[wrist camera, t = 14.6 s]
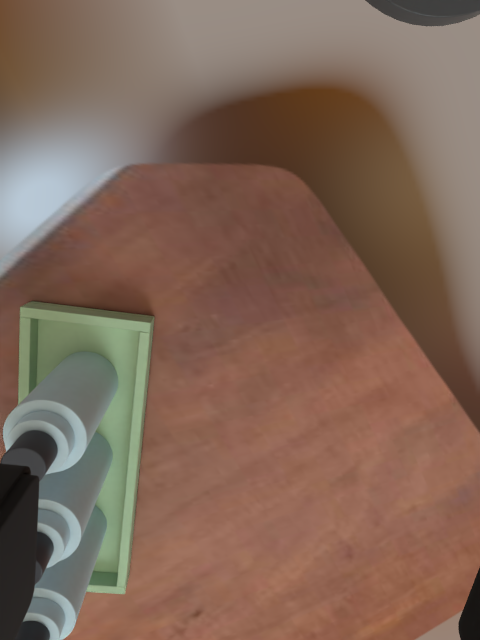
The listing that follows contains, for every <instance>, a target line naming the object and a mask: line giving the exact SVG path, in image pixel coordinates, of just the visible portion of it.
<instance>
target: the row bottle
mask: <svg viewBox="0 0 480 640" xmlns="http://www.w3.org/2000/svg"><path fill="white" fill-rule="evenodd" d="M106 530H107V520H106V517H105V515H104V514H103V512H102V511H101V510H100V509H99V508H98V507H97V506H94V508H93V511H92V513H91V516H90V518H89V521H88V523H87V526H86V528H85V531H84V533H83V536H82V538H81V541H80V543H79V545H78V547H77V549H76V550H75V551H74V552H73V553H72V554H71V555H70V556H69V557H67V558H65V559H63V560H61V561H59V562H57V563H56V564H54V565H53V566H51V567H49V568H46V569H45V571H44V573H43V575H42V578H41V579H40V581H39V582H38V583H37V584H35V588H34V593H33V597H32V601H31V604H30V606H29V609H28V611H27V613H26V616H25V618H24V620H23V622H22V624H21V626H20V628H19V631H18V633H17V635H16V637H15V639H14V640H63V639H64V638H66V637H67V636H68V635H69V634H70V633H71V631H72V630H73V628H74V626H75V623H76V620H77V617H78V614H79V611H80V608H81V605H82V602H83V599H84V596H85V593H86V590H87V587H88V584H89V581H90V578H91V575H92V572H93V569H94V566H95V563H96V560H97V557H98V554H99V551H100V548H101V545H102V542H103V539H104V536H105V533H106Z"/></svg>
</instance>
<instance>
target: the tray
mask: <svg viewBox="0 0 480 640" xmlns="http://www.w3.org/2000/svg"><path fill="white" fill-rule="evenodd" d="M153 328H154V316H148V315H140V314H132V313H124V312H116V311H108V310H100V309H92V308H84V307H75V306H67V305H59V304H51V303H43V302H35V301H31V302H29V303H27V304H25V305H23V306H21V307H20V334H19V388H18V405H19V404H20V403H21V402H22V401H23V400H24V399H25V398H26V397H27V396H28V395H29V394H30V393H31V392H32V391H33V390H34V389H35V388H36V387H37V386H38V385H39V384H40V383H41V382H42V381H43V380H44V379H45V378H46V377H47V376H48V375H49V374H50V373H51V372H52V371H53V370H54V369H55V368H56V367H57V366H58V365H59V364H60V363H61V362H62V361H63V360H64V359H65V358H66V357H67V356H69V355H71V354H73V353H76V352H83V351H86V352H93V353H97V354H99V355H101V356H103V357H105V358H106V359H107V360H108V361H109V362H110V363H111V364H112V365H113V366H114V368H115V370H116V372H117V376H118V388H117V391H116V393H115V395H114V397H113V399H112V401H111V403H110V405H109V407H108V409H107V411H106V412H105V414H104V416H103V418H102V420H101V422H100V424H99V426H98V427H97V429H96V431H95V432H97V433H99V434H100V435H102V436H103V437H104V438H105V439H106V440H107V441H108V443H109V444H110V447H111V449H112V454H113V459H112V463H111V466H110V469H109V471H108V474H107V476H106V479H105V481H104V484H103V486H102V489H101V491H100V493H99V496H98V498H97V501H96V503H95V506H97V507H98V508H99V509H100V510H101V511H102V512H103V514H104V515H105V517H106V520H107V530H106V533H105V536H104V539H103V542H102V545H101V548H100V551H99V554H98V557H97V560H96V563H95V566H94V569H93V572H92V575H91V578H90V581H89V584H88V587H87V590H86V592H98V593H114V594H125V591H126V587H127V582H128V578H129V572H130V561H131V551H132V541H133V531H134V521H135V511H136V500H137V490H138V480H139V470H140V460H141V450H142V439H143V429H144V419H145V409H146V399H147V389H148V378H149V368H150V358H151V348H152V338H153Z"/></svg>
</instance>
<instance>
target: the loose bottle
mask: <svg viewBox="0 0 480 640" xmlns="http://www.w3.org/2000/svg"><path fill="white" fill-rule="evenodd" d="M117 388H118V376H117V372H116V370H115V368H114V366H113V365H112V364H111V363H110V362H109V361H108V360H107V359H106V358H105V357H103V356H101V355H99V354H97V353H93V352H86V351H83V352H76V353H73V354H71V355H69V356H67V357H66V358H65V359H64V360H63V361H62V362H61V363H60V364H59V365H58V366H57V367H56V368H55V369H54V370H53V371H52V372H51V373H50V374H49V375H48V376H47V377H46V378H45V379H44V380H43V381H42V382H41V383H40V384H39V385H38V386H37V387H36V388H35V389H34V390H33V391H32V392H31V393H30V394H29V395H28V396H27V397H26V398H25V399H24V400H23V401H22V402H21V403H20V404H19V405H18V406H17V407H16V408H15V409H14V410H13V411H12V412H11V413H10V414H9V415H8V417H7V419H6V421H5V423H4V427H3V440H4V444H5V447H6V453H5V454H4V455H3V457H2V459H1V463H2V464H11V465H21V466H28V467H30V470H31V475H37V476H39V481H41V480H42V479H43V477H44V476H45V474H49V473H55V472H60V471H63V470H65V469H68V468H70V467H71V466H73V465H74V464H75V463H77V462H78V461H79V460H80V458H81V457H82V455H83V454H84V452H85V450H86V448H87V446H88V444H89V443H90V441H91V439H92V437H93V435H94V433H95V431H96V429H97V427H98V426H99V424H100V422H101V420H102V418H103V416H104V414H105V412H106V411H107V409H108V407H109V405H110V403H111V401H112V399H113V397H114V395H115V393H116V391H117Z"/></svg>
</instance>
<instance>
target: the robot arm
mask: <svg viewBox="0 0 480 640" xmlns="http://www.w3.org/2000/svg"><path fill="white" fill-rule="evenodd" d="M38 503H39V476H37V475H31V470H30V467H28V466H21V465H11V464H2V463H0V640H14V639H15V637H16V635H17V633H18V631H19V628H20V626H21V624H22V622H23V620H24V618H25V616H26V613H27V611H28V609H29V606H30V604H31V601H32V597H33V593H34V588H35V570H36V548H37V525H38ZM459 634H460V638H461V640H480V568H479V571H478V573H477V576H476V578H475V581H474V584H473V586H472V589H471V591H470V594H469V596H468V599H467V602H466V604H465V607H464V609H463V612H462V615H461V617H460V620H459Z"/></svg>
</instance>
